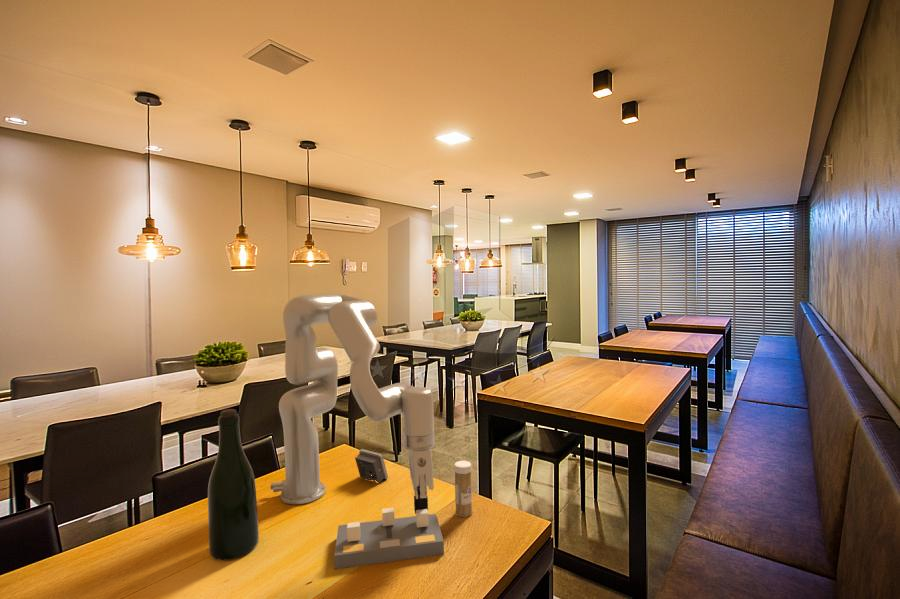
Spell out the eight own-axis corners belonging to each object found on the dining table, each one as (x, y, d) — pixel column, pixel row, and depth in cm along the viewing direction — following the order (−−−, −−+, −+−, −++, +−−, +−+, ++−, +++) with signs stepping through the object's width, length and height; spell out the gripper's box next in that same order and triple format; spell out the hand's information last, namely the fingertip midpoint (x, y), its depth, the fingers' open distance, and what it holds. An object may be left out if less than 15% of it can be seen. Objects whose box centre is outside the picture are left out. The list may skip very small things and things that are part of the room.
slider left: (347, 541, 98) (346, 527, 98) (348, 536, 100) (347, 523, 100) (360, 540, 98) (359, 526, 98) (360, 535, 100) (359, 521, 100)
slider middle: (382, 526, 104) (382, 513, 104) (382, 521, 106) (382, 508, 106) (394, 524, 104) (394, 511, 104) (394, 520, 106) (393, 507, 106)
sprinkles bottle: (470, 519, 112) (468, 467, 112) (453, 516, 114) (451, 466, 113) (474, 510, 117) (473, 460, 116) (458, 507, 118) (456, 459, 118)
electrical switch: (388, 479, 136) (385, 451, 135) (377, 488, 132) (374, 459, 131) (367, 473, 142) (364, 446, 140) (355, 481, 137) (352, 453, 136)
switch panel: (334, 569, 94) (334, 555, 94) (338, 537, 106) (338, 525, 106) (444, 554, 98) (443, 540, 98) (436, 525, 110) (436, 513, 110)
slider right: (417, 527, 103) (416, 514, 103) (416, 523, 105) (415, 510, 105) (428, 526, 103) (428, 513, 103) (427, 521, 105) (427, 508, 105)
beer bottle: (204, 566, 96) (196, 419, 95) (215, 539, 106) (209, 406, 105) (255, 557, 99) (248, 414, 98) (262, 532, 109) (256, 402, 108)
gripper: (438, 448, 99) (441, 527, 100) (429, 427, 114) (432, 496, 115) (406, 451, 98) (408, 531, 99) (401, 430, 113) (403, 499, 113)
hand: (421, 512), depth 107 cm, fingers closed
